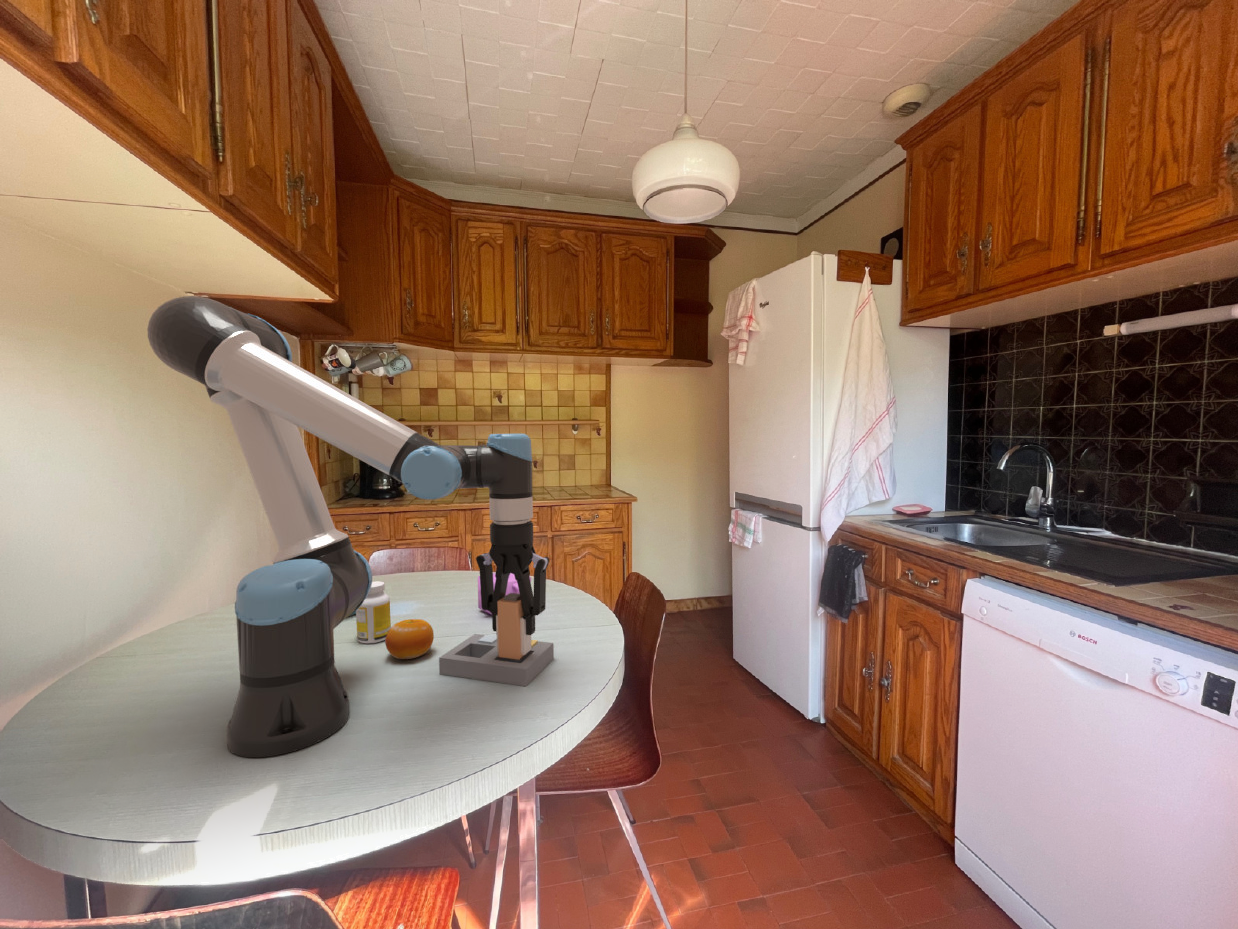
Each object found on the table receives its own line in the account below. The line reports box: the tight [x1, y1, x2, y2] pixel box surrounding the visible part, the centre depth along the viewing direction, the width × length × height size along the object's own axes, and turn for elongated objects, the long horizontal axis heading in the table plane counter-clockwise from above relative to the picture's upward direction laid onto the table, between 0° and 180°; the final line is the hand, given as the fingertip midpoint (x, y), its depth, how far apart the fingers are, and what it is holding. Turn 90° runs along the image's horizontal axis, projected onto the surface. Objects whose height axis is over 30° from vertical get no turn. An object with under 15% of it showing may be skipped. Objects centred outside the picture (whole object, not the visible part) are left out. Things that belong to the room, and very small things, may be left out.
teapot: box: [477, 572, 532, 616], centre depth 126 cm, size 18×14×10 cm
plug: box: [497, 593, 524, 659], centre depth 93 cm, size 4×4×11 cm
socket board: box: [438, 633, 555, 687], centre depth 96 cm, size 12×17×3 cm
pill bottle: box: [355, 580, 392, 644], centre depth 109 cm, size 6×6×12 cm
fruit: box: [384, 618, 435, 660], centre depth 101 cm, size 8×9×8 cm
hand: (514, 650), depth 93 cm, fingers closed on plug, 4 cm apart
